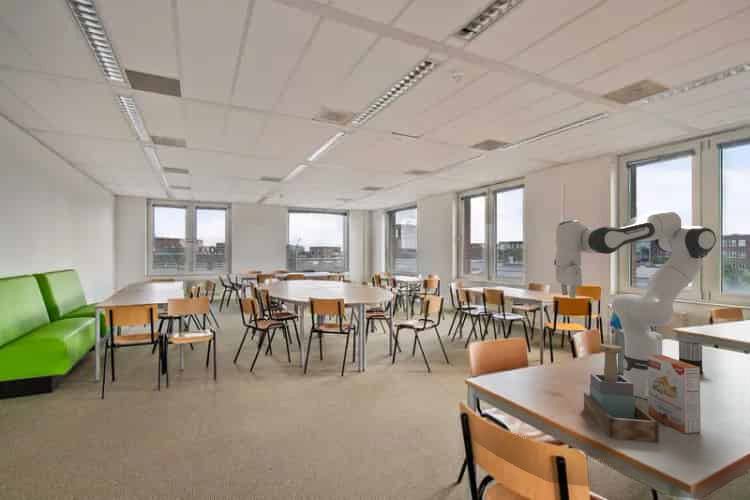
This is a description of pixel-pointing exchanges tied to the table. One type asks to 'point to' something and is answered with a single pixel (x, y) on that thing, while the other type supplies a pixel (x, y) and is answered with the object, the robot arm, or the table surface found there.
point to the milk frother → (691, 352)
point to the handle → (610, 361)
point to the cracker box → (674, 393)
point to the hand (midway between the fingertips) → (568, 296)
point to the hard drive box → (622, 344)
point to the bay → (623, 423)
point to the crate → (614, 396)
